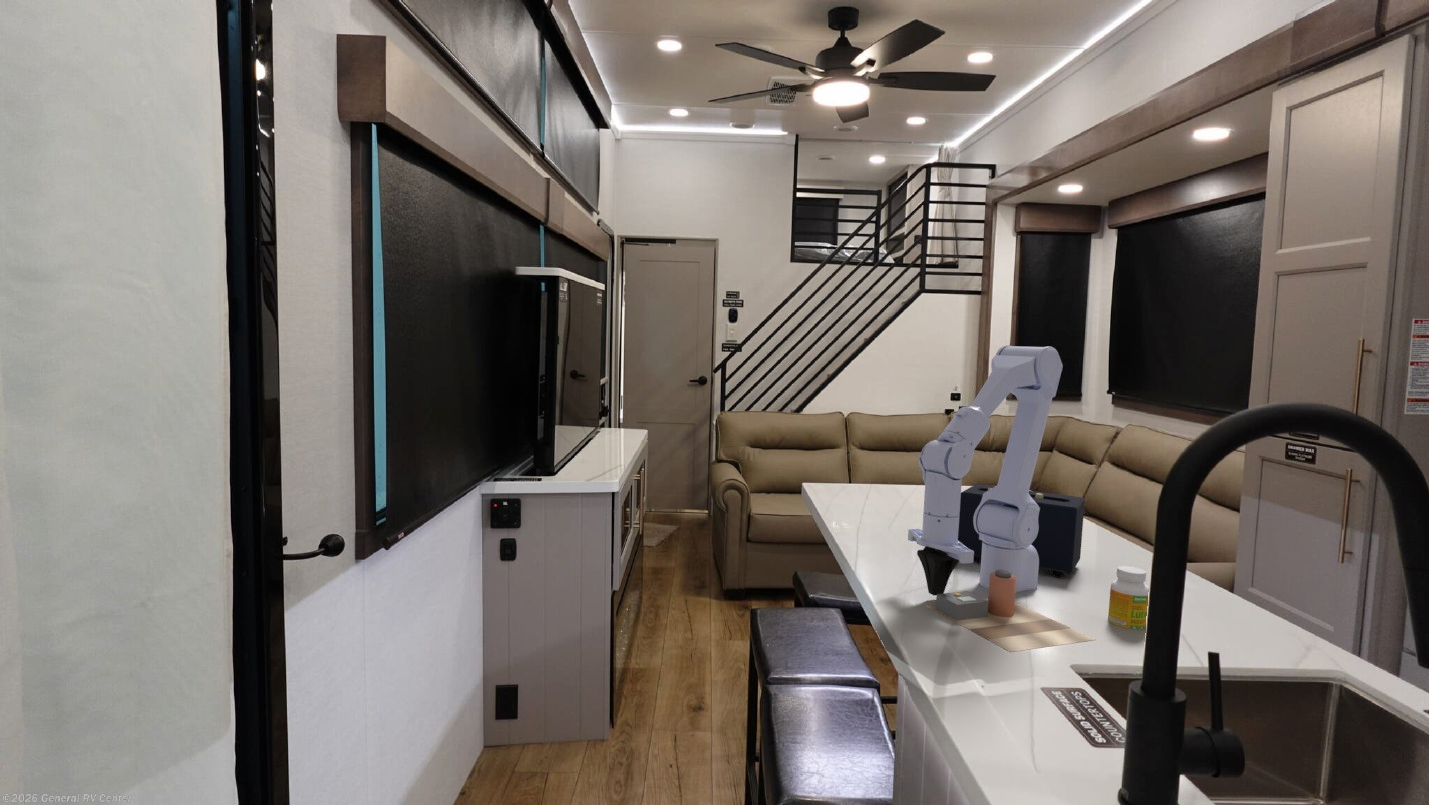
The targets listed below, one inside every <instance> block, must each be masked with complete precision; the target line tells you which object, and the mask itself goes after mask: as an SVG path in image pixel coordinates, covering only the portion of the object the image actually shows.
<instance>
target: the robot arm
mask: <svg viewBox="0 0 1429 805" xmlns="http://www.w3.org/2000/svg"><path fill="white" fill-rule="evenodd" d="M990 362H991V367H990V368H991V372H990V374H989V376H988V377H987V378H986V381H985V382H984V384H983V386H982V387H981V389H980V390H979V392H978V394H977V395H976V397H975V398H974V400H973V401H972V403H971V405H970V406H963V407H960V408H959V409H958V410H956V412H955V415H954V416H953V418H952V419H951V420H950V422H949V423H948V424H947V426H946V427H945V428H944V429H943V430H942V433H941V434H940V435H939V436H938V438H937V439H933V440H930V441H929V442H927V443H926V444H925V445H924V446H923V447H922V450H921V452H920V455H919V456H918V465H919V468H920V470H921V471H922V480H923V483H924V495H923V496H924V498H923V500H924V501H923V514H922V528H921V529H920V528H909V529H908V533H907V540H908V541H910V542H916V544H917V545H918V546H921V547H924V548H923V549H918V550H917V552H916V555H917V556H918V558H919V560H920V562H921V565H922V568H923V572H924V575H925V582H926V586H927V590H928V594H929V595H932V596H933V597H934V596H937V594H943V593H945V591H946V587H947V584H948V582H949V580H950V577H951V574H952V573H953V571H954V569H955V568H956V567H957V565H958V564H959V563H960V564H963V565H965V564H974V561H973V559H974V551H972V550H970V549H968V548H967V547H966V546H964V545H963V544H962V543H960V542H959V541H958V529H959V514H960V499H961V492H962V482H963V478H964V477H965V476H966V475H967V474H968V473H969V472H970V471H971V468H972V463H973V457H974V456H975V449H976V448H977V447H978V445H979V443H980V442H981V440H982V439H983V438H984V437H985V435H986V434H987V432H988V431H989V430H990V428H991V422H990V416H991V415H992V414H993V413H994V412H995V411H996V410H997V408H998V407H999V406H1000V405H1001V404H1002V403H1003V401H1004V400H1005V399H1006V398H1007V397H1008V396H1009V395H1010V394H1012V395H1014V396H1015V398H1016V400H1017V407H1016V411H1015V414H1014V418H1013V423H1012V426H1011V431H1010V434H1009V437H1008V442H1007V445H1006V450H1005V454H1004V457H1003V458H1004V459H1003V462H1002V465H1001V470H1000V474H999V478H998V482H997V485H995V486H996V487H994V488H992V489H990V490H989V491H987V492H985V493H984V494H983V497H982V500H981V503H980V505H979V506H978V508H977V509H976V511H975V513H974V518H973V523H974V528H975V530H976V532H977V533H978V534H979V539H980V540H982V555H981V558H980V571H979V572H980V573H979V585H980V586H981V587H983V588H985V589H987V590H989V578H990V573H992V572H995V571H996V570H1005V571H1009V572H1011V574H1012V575H1014V576H1016V577H1017V579H1016V593H1020V592H1023V591H1030V590H1038V582H1039V581H1038V580H1039V569H1040V568H1039V557H1038V553H1037V551H1036V549H1035V548H1034V547H1033V546H1032V545H1031V544H1032V542H1033V541H1034V540H1035V539H1036V537H1037V534H1038V529H1039V524H1038V516H1039V511H1040V508H1039V506H1038V505H1037V503H1036V502H1035V501H1034V500H1033V499H1032V497H1031V496H1030V495H1029V491H1030V487H1031V485H1032V481H1033V477H1034V472H1035V468H1036V465H1037V461H1038V457H1039V452H1040V450H1041V449H1040V448H1041V444H1042V441H1043V436H1044V433H1045V429H1046V426H1047V421H1048V418H1049V413H1050V409H1051V405H1052V402H1053V398H1055V397H1056V395H1057V391H1058V386H1059V384H1060V383H1059V382H1060V379H1061V374H1062V372H1063V366H1064V365H1063V362H1062V359H1061V357H1060V355H1059V352H1058V350H1057V349H1056V348H1055V347H1053V346H1018V345H1017V346H1016V345H1015V346H1013V345H1009V344H1006V345H1003V346H1001V347H1000V348H999V349H997V351H996V353H995V355H994V357H993V358H991V361H990ZM1003 504H1009V505H1013V506H1017V507H1018V508H1019V509H1015V508H1011V507H1007V506H1003Z"/></svg>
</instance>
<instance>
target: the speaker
mask: <svg viewBox="0 0 1429 805" xmlns="http://www.w3.org/2000/svg"><path fill="white" fill-rule="evenodd" d="M996 486H997V485H990V484H982V483H975V484H974V485H972V486H969V487H968V488H966V489H965V490H963V491H961V499H960V514H959V529H958V541H959V542H960V543H962V544H963V545H964V546H966V547H967V548H968V549H970V550H972V551H974V559H973V562H976V561H977V558H979V559H981V555H982V540H980V539H979V534H978V533H977V532H976V530H975V528H974V523H973V518H974V513H975V511H976V509H977V508H978V506H979V505H980V503H981V500H982V497H983V494H984V493H985V492H987V491H989V490H990V489H992V488H994V487H996ZM1029 495H1030V496H1031V497H1032V499H1033V500H1034V501H1035V502H1036V503H1037V505H1038V506H1039V508H1040V511H1039V516H1038V524H1039V529H1038V534H1037V537H1036V539H1035V540H1034V541H1033V542H1032V544H1031V545H1032V546H1033V547H1034V548H1035V549H1036V551H1037V553H1038V557H1039V569H1041V570H1047V571H1051V574H1052V576H1054V577H1057V578H1062V577H1063V576H1064V574H1068V575H1071V574H1072V573H1073V572H1074V571H1075V569H1076V567H1077V564H1078V563H1079V561H1080V560H1081V552H1082V539H1083V528H1084V515H1085V502H1086V498H1084V497H1081V496H1074V495H1066V494H1058V493H1050V492H1044V491H1036V490H1029ZM1003 506H1007V507H1011V508H1015V509H1019V508H1018V507H1017V506H1013V505H1009V504H1003Z"/></svg>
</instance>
